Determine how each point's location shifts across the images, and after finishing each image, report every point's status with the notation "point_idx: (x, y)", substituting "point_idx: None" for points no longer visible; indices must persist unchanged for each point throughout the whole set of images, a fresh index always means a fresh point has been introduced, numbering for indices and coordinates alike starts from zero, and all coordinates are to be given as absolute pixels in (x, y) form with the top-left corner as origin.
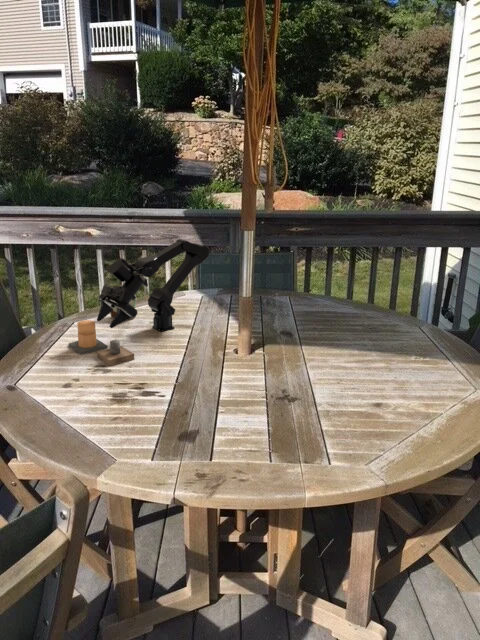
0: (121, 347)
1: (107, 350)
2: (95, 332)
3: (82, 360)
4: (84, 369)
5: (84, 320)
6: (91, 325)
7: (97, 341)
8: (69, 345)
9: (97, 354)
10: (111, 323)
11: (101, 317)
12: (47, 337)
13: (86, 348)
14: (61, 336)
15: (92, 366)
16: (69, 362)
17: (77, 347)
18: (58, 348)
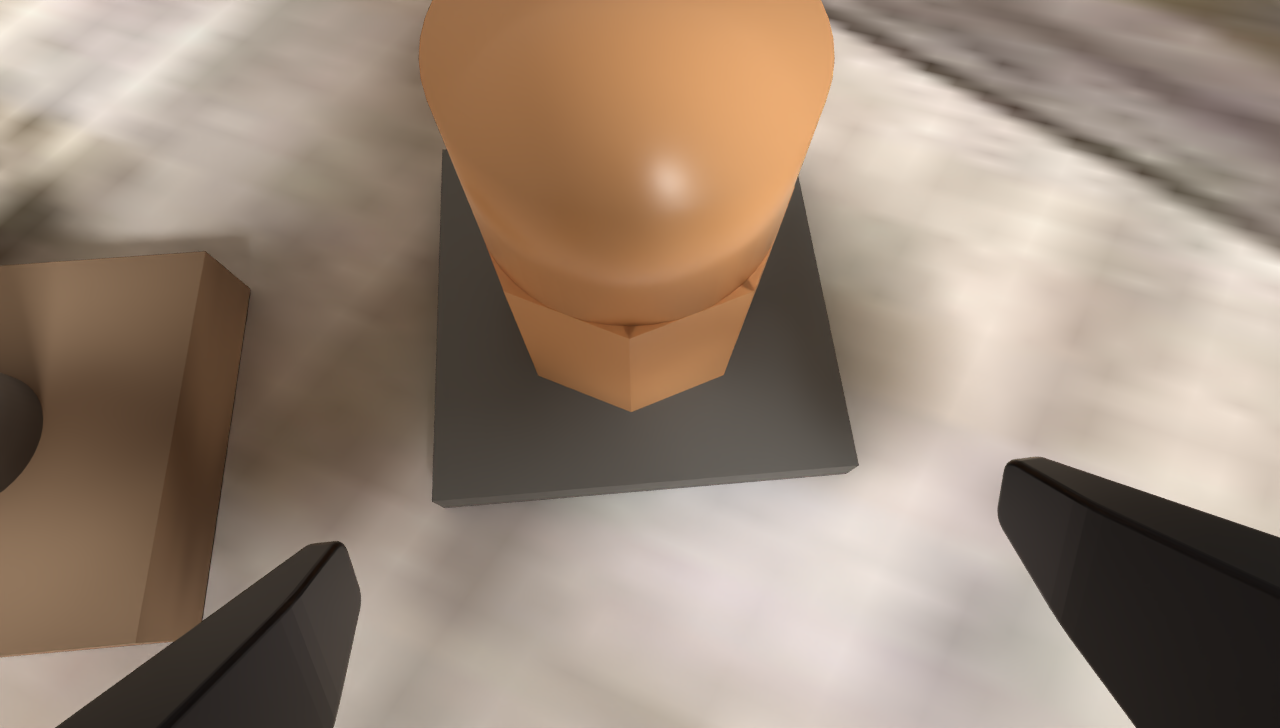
0: (68, 616)
1: (138, 380)
2: (540, 301)
3: (289, 140)
4: (69, 89)
5: (830, 62)
6: (425, 91)
7: (669, 440)
8: None
9: (218, 269)
10: (255, 597)
11: (1087, 596)
12: (1148, 61)
13: None
14: (1138, 178)
15: (68, 167)
16: (333, 39)
17: None
18: None
